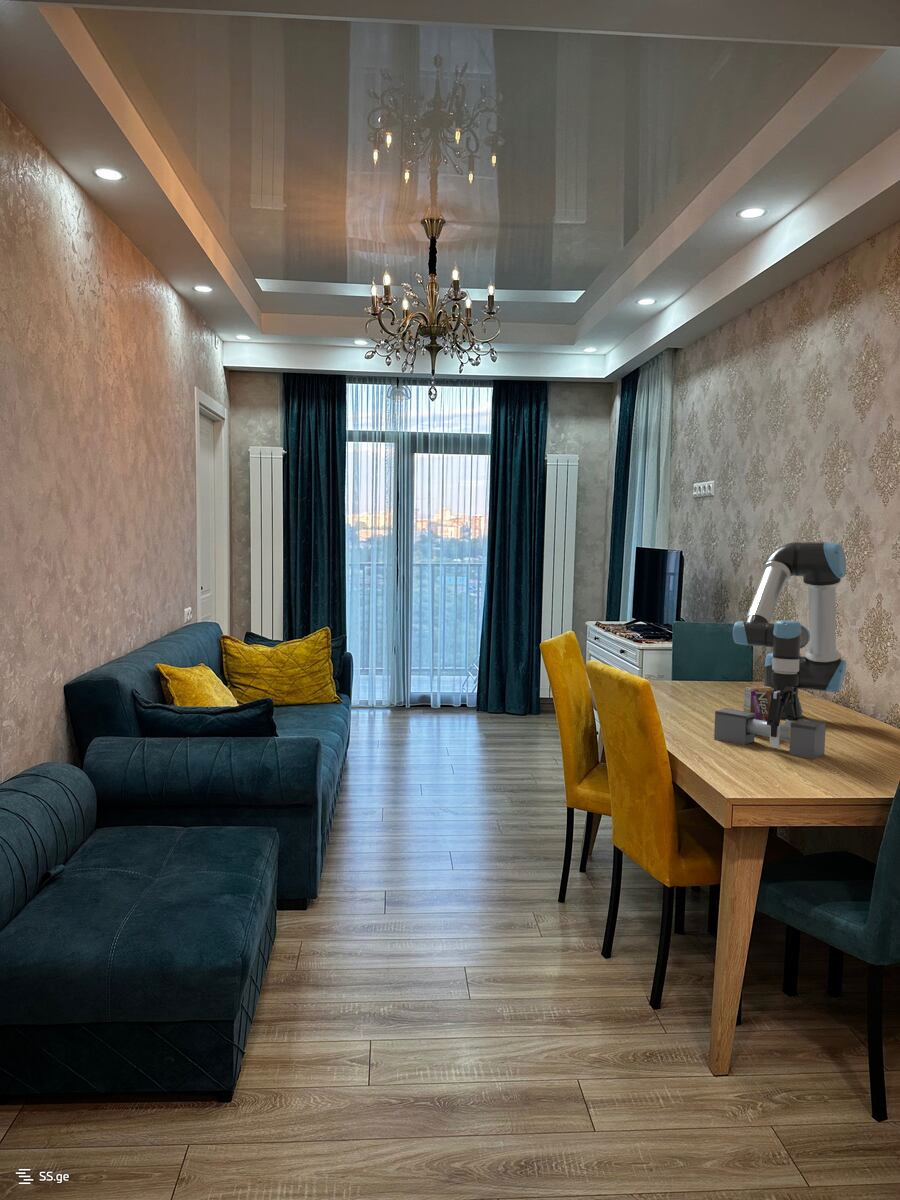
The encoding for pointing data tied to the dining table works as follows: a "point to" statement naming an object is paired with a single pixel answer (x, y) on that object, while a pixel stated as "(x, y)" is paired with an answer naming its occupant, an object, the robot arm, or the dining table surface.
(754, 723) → the tube
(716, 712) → the sleeve
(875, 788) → the dining table surface
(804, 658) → the robot arm
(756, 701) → the candy box
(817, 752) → the socket
